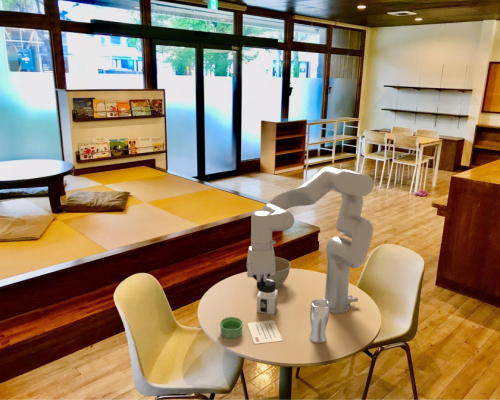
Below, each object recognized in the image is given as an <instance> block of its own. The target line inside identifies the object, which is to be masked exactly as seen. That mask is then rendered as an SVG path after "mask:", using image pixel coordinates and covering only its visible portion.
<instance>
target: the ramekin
mask: <svg viewBox="0 0 500 400" xmlns="http://www.w3.org/2000/svg"><path fill="white" fill-rule="evenodd" d="M243 326H244V322H243V320H242V319H241V318H239V317H237V316H228V317H225V318H222V319H221V320H220V322H219V327H220V334H221V335H222V337H223V338H226V339H231V340H233V339H237V338H239V337H241V335H242V334H243Z"/></svg>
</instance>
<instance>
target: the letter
mask: <svg viewBox="0 0 500 400" xmlns="http://www.w3.org/2000/svg"><path fill="white" fill-rule="evenodd" d="M246 324H247V328H248V330H249V332H250V335H251V338H252V341H253V344H254V345H260V344H267V343H268V344H269V343H274V342H275V343H276V342H283V341H284V340H283V338H282V335H281V333H280V331H279V330H278V326H277V325H276V322H275V320H274V319H272V320H262V321H254V322H253V321H252V322H247V323H246Z"/></svg>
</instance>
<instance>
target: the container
mask: <svg viewBox="0 0 500 400" xmlns="http://www.w3.org/2000/svg"><path fill="white" fill-rule="evenodd" d="M278 292H279V291H278V289H276V288H275V282H274V281H273V280H270V279H267V280H266V281H265V288H264V291H261V292H260V291H259V290H258V292H257V295H256V313H259V314H268V315H275V314H276V310H277V307H278Z"/></svg>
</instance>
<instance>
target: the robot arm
mask: <svg viewBox="0 0 500 400" xmlns="http://www.w3.org/2000/svg"><path fill="white" fill-rule="evenodd" d="M374 185H375V184H374V180H373V178H372V176H370V175H368V174H366V173H361V172H358V171H355V170H351V169H347V168H342V169H340V168H337V167H333V166H325V167H322V168H321V169H320V170H319V171H317V172H316V173H314V175H312V176H311V177H310V178H309V179H307V180H306V181H305V182H303V183H302V184H301V185H299V186H298V187H295V188H291V189H289V190H286V191H283V192H281V193H278V194H277V195H276V196H274V197H273V198H272V199H270V200H269V201H268V202H267V203H266V204H265V205H264V206H263V208H262V209H261V210H255V211H254V212H252V214H251V218H250V223H251V224H250V225H251V227H250V229H251V230H250V240H251V241H250V242H251V244H250V246H249V247H248V250H247V256H246V257H247V258H246V270H247V273H246V276H247V278H251V279H254V280H255V281H256V288H257V289H258V292H259V291H260V292H261V291H264V288H265V281H266V280H267V279H268V278H269V277H270V276H272V275H275V257H276V256H275V249H274V246H273V245H276V243H277V242H276V240H274V239H273V232H284V231H288V230H290V229H291V228H292V227H293V226H294V224H295V217H294V214H292V212H290V211H288V209H291V208H294V207H301V206H302V207H305V206H312V205H314V204H316V203H318V201H320V199H323V197H325V196H326V195H327V193H329V192H331V191H334V192H336V193H339V194H341V204H340V208H339V212H338V216H337V219H336V224H335V229H336V231H337V232H338V233H340V234H341V235H343V236H345V237H347V238H349V239H347V238H345V237H343V236H339V235H335V236H332V237H331V238H329V239H328V241H327V243H326V246H325V253H326V261H327V262H326V263H327V264H326V265H327V266H326V280H325V292H324V298H321V299H322V300H325V301H327V302H328V303H329V313H334V314H344V313H346V312H349V310H351V303H357V302H359V299H358V297H357V296H355V297H354V296H353V295H352V294H351V295H349V284H350V275H351V269H358V268H360V267H361V266H363V264H364V263H365V261H366V259H367V256H368V252H369V249H370V246H371V242H372V238H373V234H374V227H373V226H374V225H373V223H372V222H371V221H370V220H369V219H367V218H365V217H362V216H361V215H362V210H363V205H364V198H363V197H366V196H368V195H370V194H371V193H372V191H373V189H374ZM350 239H351V240H350ZM261 274H262V278H261V279H260V275H261Z"/></svg>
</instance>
